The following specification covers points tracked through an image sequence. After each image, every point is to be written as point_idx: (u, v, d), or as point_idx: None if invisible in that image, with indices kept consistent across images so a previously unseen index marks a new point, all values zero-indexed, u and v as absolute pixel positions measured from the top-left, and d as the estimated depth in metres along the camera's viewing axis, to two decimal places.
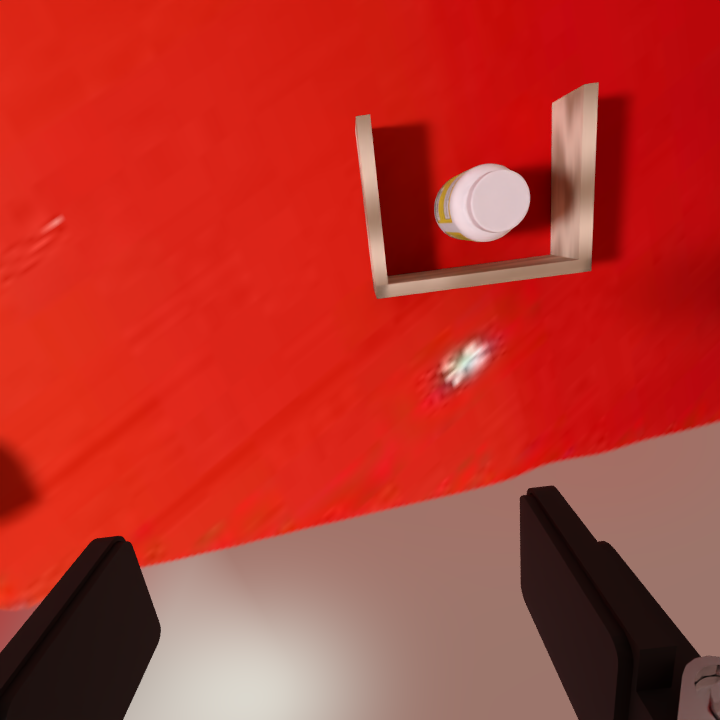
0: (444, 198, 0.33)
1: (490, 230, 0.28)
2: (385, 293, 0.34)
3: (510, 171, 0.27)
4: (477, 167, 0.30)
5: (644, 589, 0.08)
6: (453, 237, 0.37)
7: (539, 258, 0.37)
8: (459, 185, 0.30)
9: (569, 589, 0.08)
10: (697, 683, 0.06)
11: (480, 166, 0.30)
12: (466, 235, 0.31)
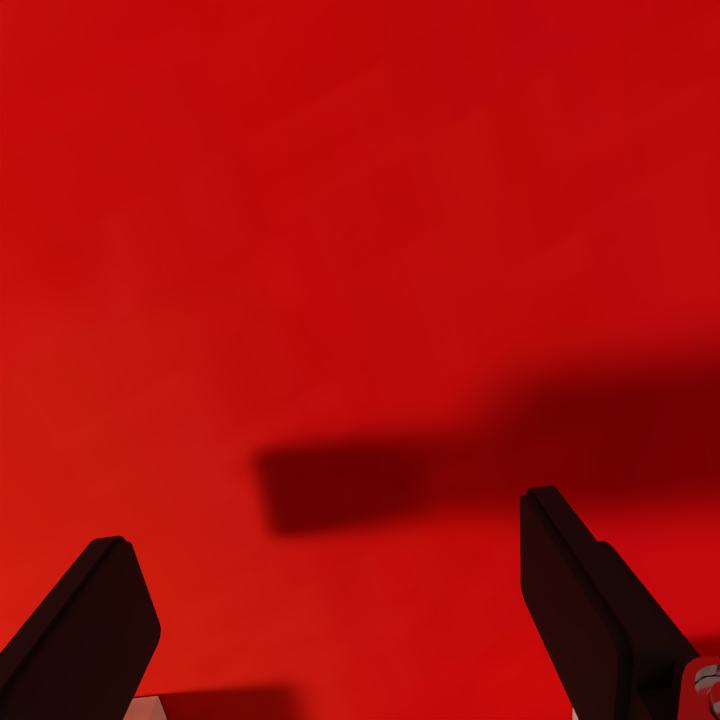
0: None
1: None
2: None
3: None
4: None
5: (644, 589, 0.08)
6: None
7: None
8: None
9: (569, 589, 0.08)
10: (697, 683, 0.06)
11: None
12: None
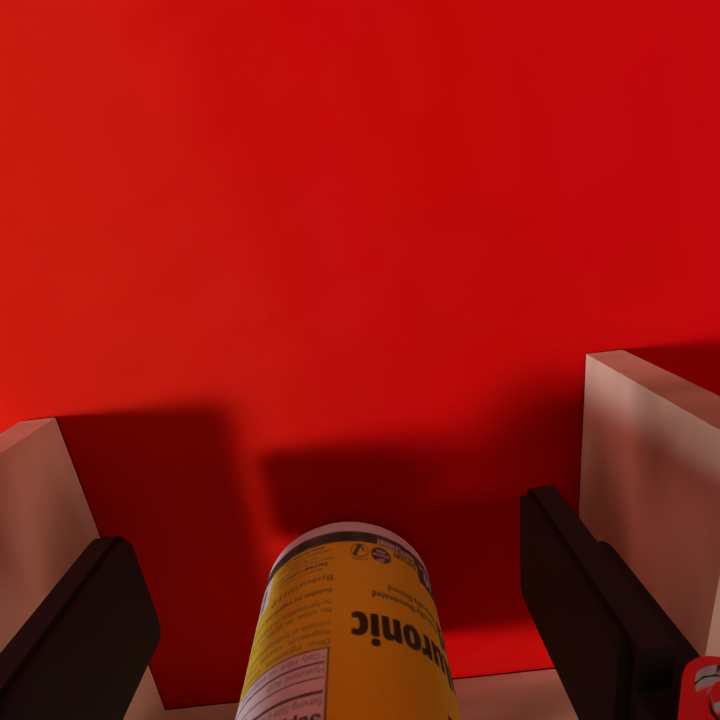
0: None
1: None
2: None
3: None
4: None
5: (644, 589, 0.08)
6: None
7: (544, 714, 0.14)
8: None
9: (569, 589, 0.08)
10: (697, 683, 0.06)
11: None
12: None
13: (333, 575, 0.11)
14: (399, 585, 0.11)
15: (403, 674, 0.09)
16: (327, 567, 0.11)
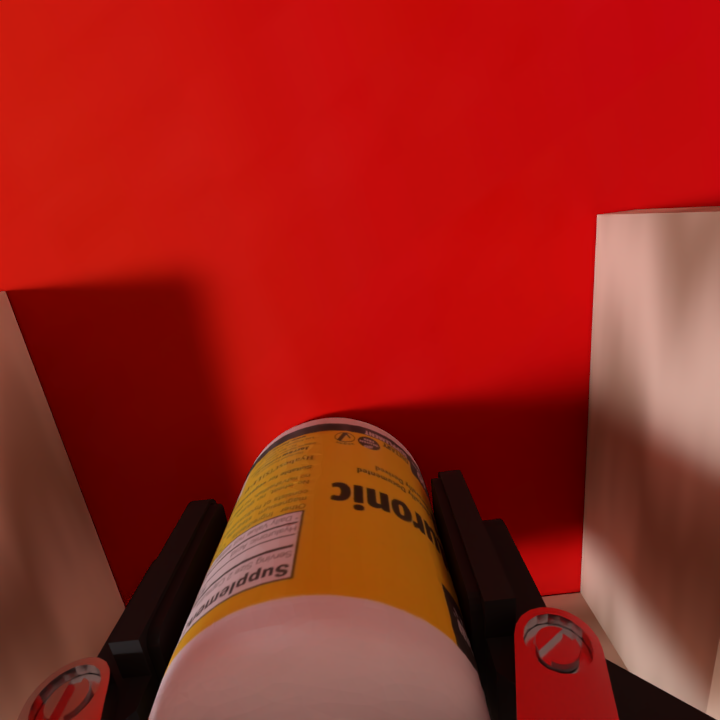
0: None
1: None
2: None
3: None
4: (240, 655, 0.06)
5: (520, 558, 0.09)
6: None
7: None
8: None
9: (452, 557, 0.09)
10: (532, 629, 0.07)
11: (254, 653, 0.06)
12: None
13: (314, 455, 0.10)
14: (388, 468, 0.10)
15: (389, 535, 0.08)
16: (307, 450, 0.10)
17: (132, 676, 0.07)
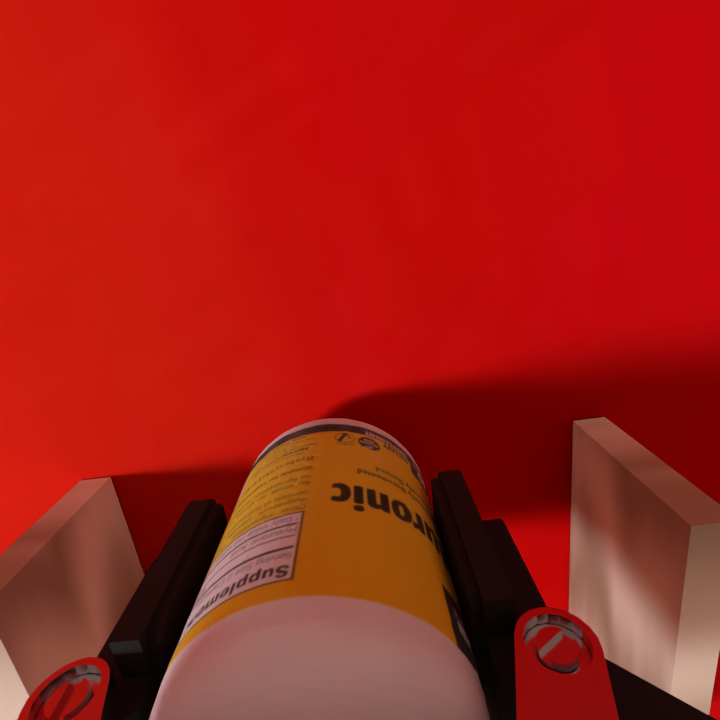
0: None
1: None
2: None
3: None
4: (240, 656, 0.06)
5: (519, 558, 0.09)
6: None
7: None
8: None
9: (452, 557, 0.09)
10: (532, 629, 0.07)
11: (255, 654, 0.06)
12: None
13: (314, 456, 0.10)
14: (388, 469, 0.10)
15: (389, 537, 0.08)
16: (307, 451, 0.10)
17: (132, 676, 0.07)
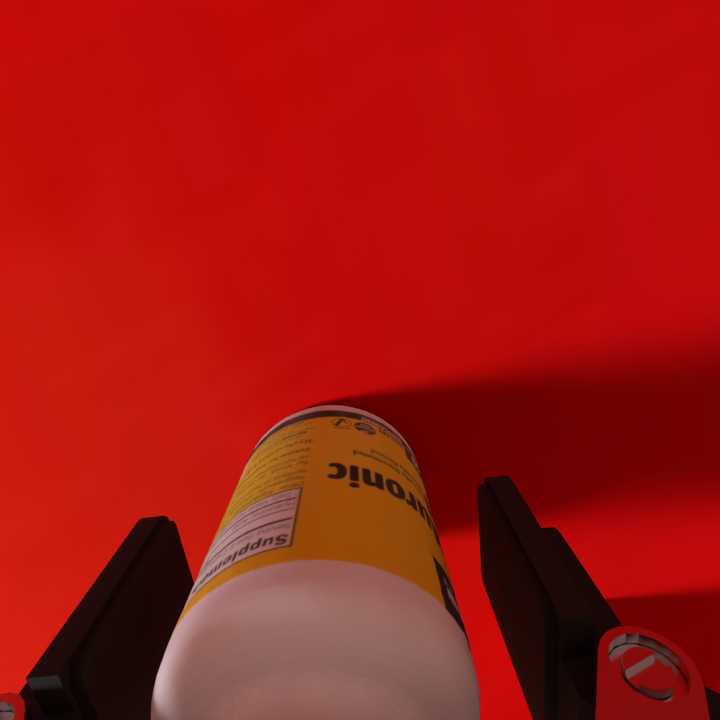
0: None
1: None
2: None
3: None
4: (242, 613, 0.06)
5: (583, 570, 0.08)
6: None
7: None
8: (162, 687, 0.06)
9: (512, 570, 0.08)
10: (613, 650, 0.06)
11: (256, 610, 0.06)
12: None
13: (312, 439, 0.10)
14: (383, 451, 0.10)
15: (382, 511, 0.08)
16: (305, 434, 0.11)
17: (53, 713, 0.07)
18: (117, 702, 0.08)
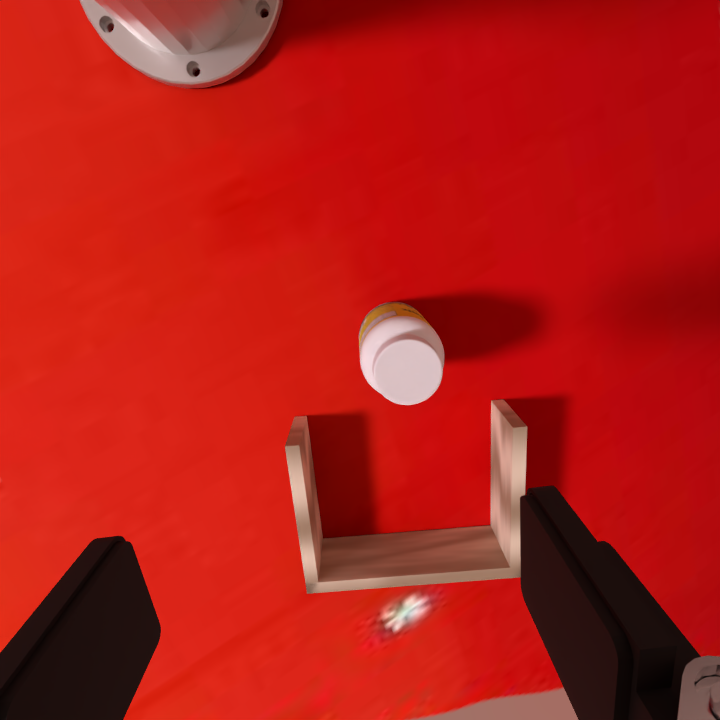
0: (360, 340, 0.29)
1: (397, 402, 0.24)
2: (315, 589, 0.34)
3: (418, 342, 0.23)
4: (389, 322, 0.26)
5: (644, 589, 0.08)
6: None
7: (477, 537, 0.37)
8: (368, 341, 0.26)
9: (569, 589, 0.08)
10: (697, 683, 0.06)
11: (392, 321, 0.26)
12: (378, 391, 0.27)
13: (392, 306, 0.30)
14: (416, 311, 0.30)
15: (419, 316, 0.28)
16: (389, 305, 0.30)
17: None
18: None
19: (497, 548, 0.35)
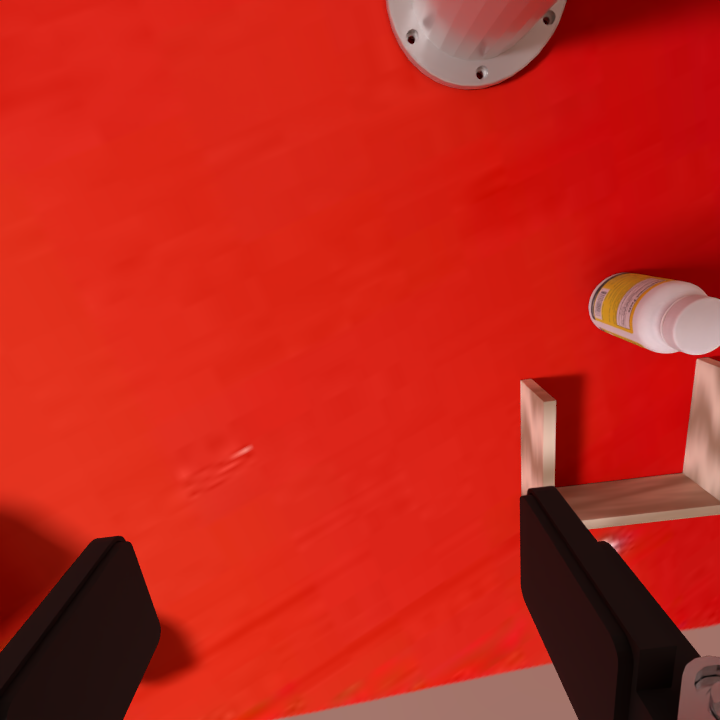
0: (617, 305, 0.33)
1: (689, 353, 0.29)
2: None
3: (717, 299, 0.28)
4: (668, 286, 0.30)
5: (644, 589, 0.08)
6: None
7: (676, 483, 0.41)
8: (649, 303, 0.30)
9: (569, 589, 0.08)
10: (697, 683, 0.06)
11: (671, 285, 0.30)
12: (648, 347, 0.31)
13: (635, 275, 0.34)
14: None
15: None
16: (630, 275, 0.35)
17: None
18: None
19: (702, 490, 0.40)
